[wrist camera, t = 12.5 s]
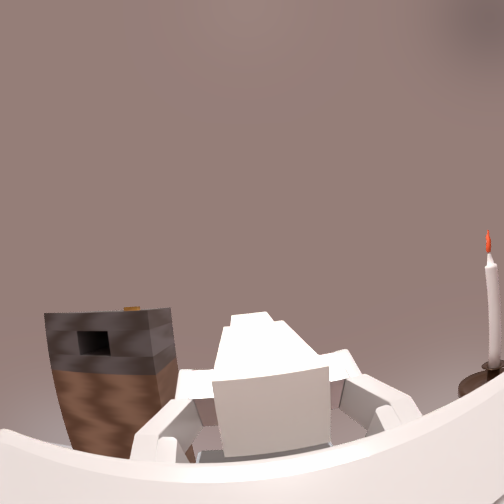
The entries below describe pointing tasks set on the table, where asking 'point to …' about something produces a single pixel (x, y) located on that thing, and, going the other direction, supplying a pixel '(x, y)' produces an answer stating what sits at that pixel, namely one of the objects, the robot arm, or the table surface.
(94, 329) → the stand
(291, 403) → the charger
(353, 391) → the robot arm
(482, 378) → the candlestick
